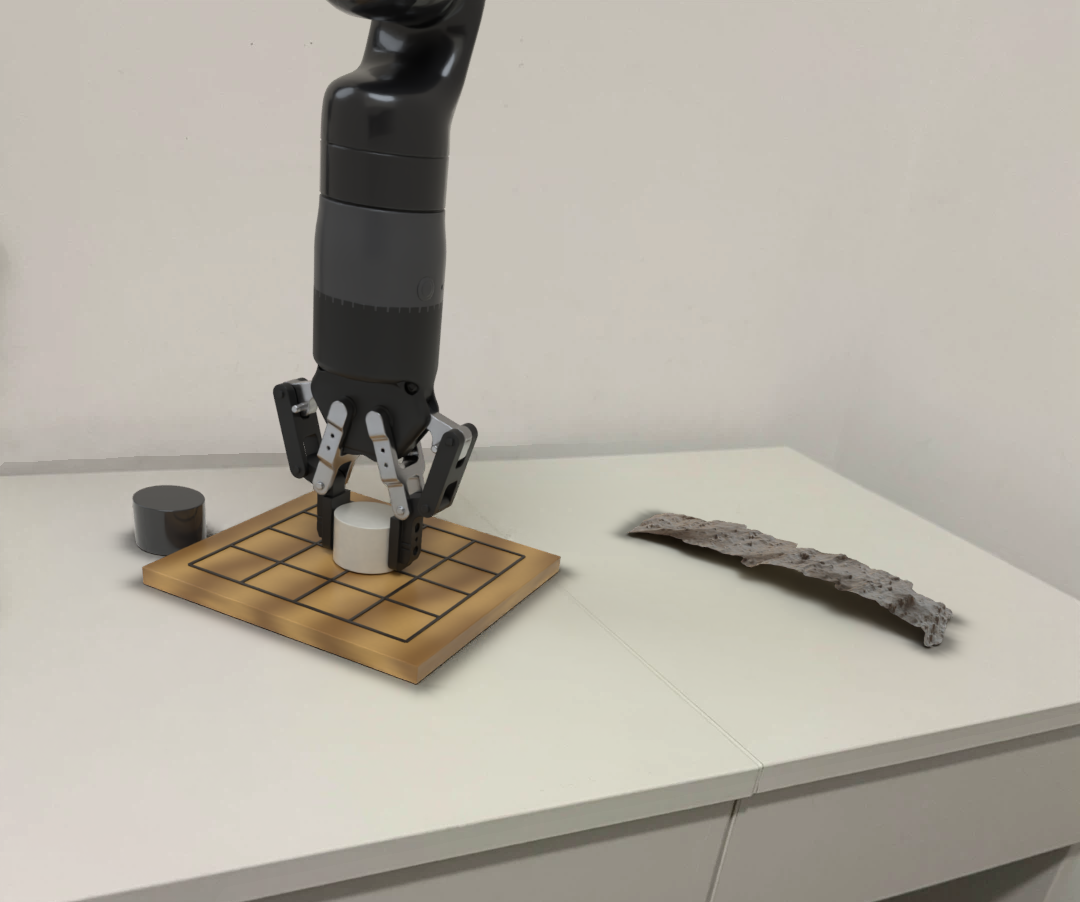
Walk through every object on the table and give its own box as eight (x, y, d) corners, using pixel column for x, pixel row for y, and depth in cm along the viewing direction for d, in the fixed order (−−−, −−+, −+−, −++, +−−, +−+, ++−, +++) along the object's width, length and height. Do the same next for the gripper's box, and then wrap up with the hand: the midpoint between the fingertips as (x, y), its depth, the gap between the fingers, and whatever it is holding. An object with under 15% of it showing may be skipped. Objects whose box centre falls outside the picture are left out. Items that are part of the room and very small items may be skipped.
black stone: (120, 542, 71) (116, 497, 69) (168, 523, 75) (166, 479, 73) (174, 562, 70) (172, 516, 68) (221, 541, 73) (219, 497, 72)
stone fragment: (937, 658, 74) (955, 607, 81) (952, 622, 72) (969, 574, 80) (607, 550, 81) (652, 513, 89) (613, 515, 80) (659, 480, 87)
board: (142, 583, 67) (141, 564, 66) (327, 498, 83) (328, 481, 82) (416, 684, 61) (417, 664, 60) (559, 571, 77) (561, 554, 76)
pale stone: (318, 560, 70) (319, 515, 68) (357, 539, 73) (359, 495, 72) (378, 580, 68) (380, 534, 67) (414, 558, 72) (418, 514, 70)
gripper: (516, 303, 63) (487, 568, 72) (315, 256, 67) (311, 511, 76) (455, 321, 57) (431, 607, 66) (238, 268, 61) (244, 543, 70)
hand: (367, 554), depth 71 cm, fingers closed on pale stone, 4 cm apart
